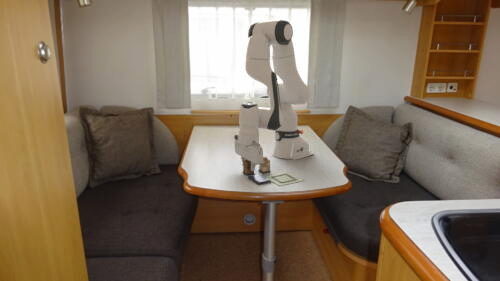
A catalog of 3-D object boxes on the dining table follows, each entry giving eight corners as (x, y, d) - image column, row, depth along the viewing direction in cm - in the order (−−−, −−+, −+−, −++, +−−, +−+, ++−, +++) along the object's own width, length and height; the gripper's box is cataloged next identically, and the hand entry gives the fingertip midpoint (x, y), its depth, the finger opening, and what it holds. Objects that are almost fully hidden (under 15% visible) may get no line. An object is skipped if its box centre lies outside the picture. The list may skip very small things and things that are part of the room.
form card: (287, 172, 170) (287, 171, 170) (303, 180, 160) (304, 179, 160) (264, 177, 163) (264, 176, 163) (279, 186, 153) (279, 185, 153)
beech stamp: (265, 169, 173) (266, 155, 171) (270, 172, 170) (270, 157, 168) (258, 171, 171) (258, 156, 169) (263, 173, 168) (263, 159, 166)
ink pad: (259, 176, 165) (259, 173, 164) (270, 182, 157) (270, 180, 157) (248, 178, 162) (248, 175, 161) (258, 185, 154) (258, 182, 154)
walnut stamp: (250, 171, 170) (250, 157, 168) (254, 174, 167) (254, 159, 165) (242, 173, 168) (242, 158, 166) (246, 175, 165) (247, 161, 163)
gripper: (267, 143, 156) (266, 174, 159) (244, 133, 173) (243, 160, 177) (254, 145, 153) (254, 176, 156) (232, 134, 170) (232, 162, 174)
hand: (248, 168), depth 167 cm, fingers open, 5 cm apart
